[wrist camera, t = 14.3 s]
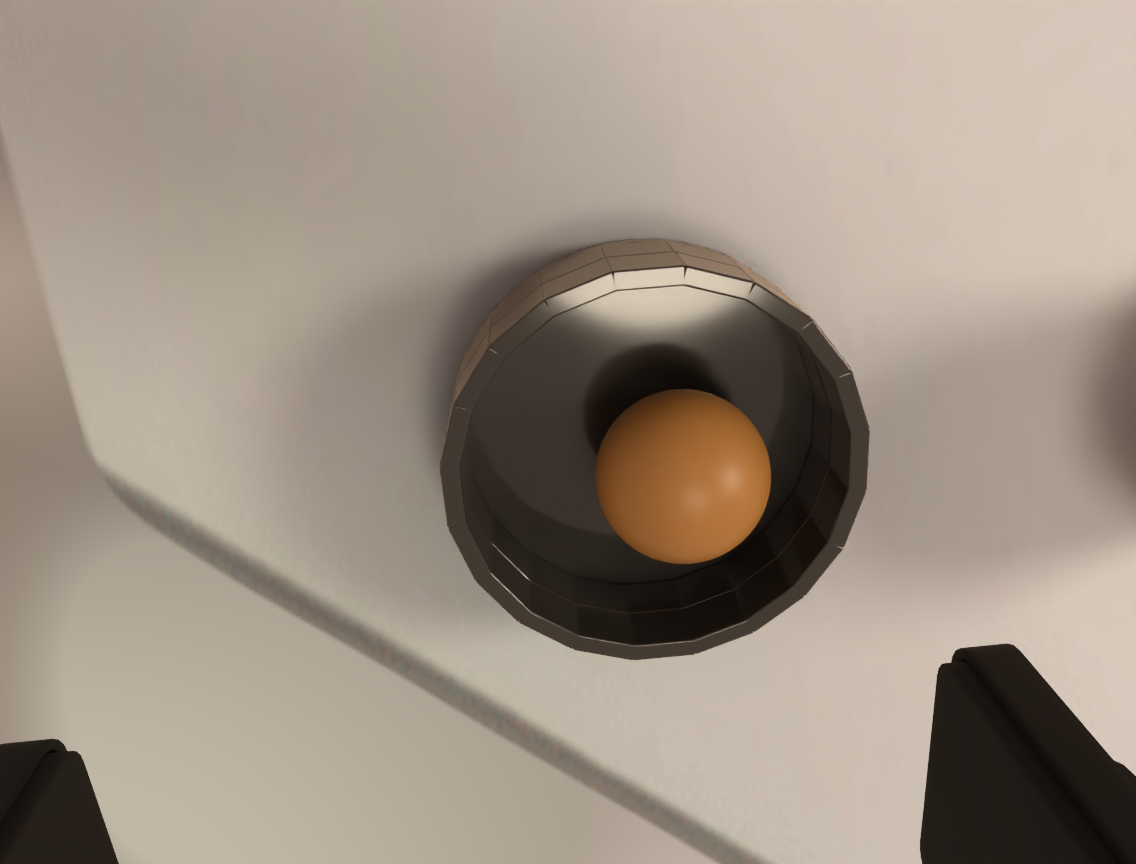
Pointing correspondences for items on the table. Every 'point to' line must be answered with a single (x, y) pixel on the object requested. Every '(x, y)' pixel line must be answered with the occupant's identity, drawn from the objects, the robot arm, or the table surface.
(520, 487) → the bowl
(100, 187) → the table surface
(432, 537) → the table surface
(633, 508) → the orange ball
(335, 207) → the table surface
